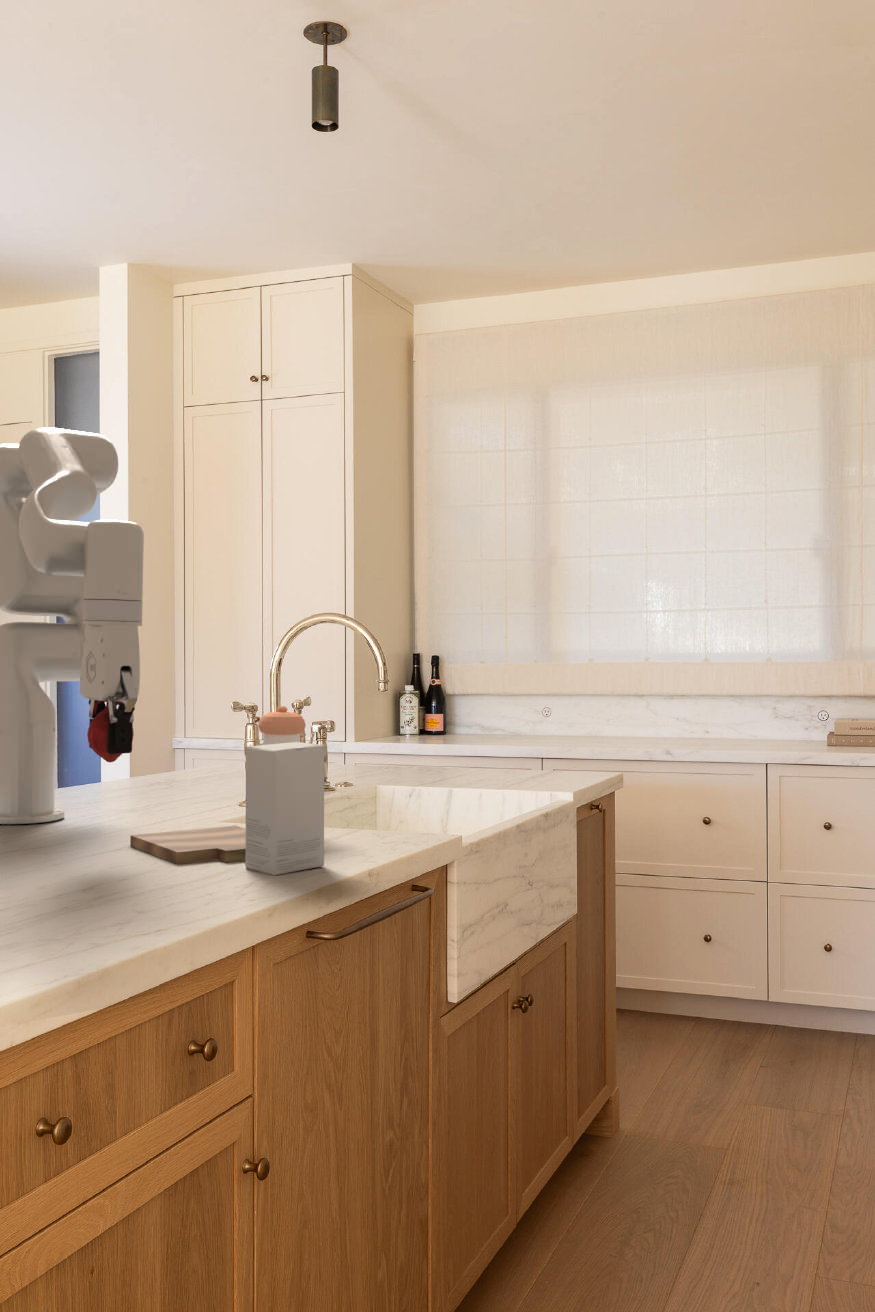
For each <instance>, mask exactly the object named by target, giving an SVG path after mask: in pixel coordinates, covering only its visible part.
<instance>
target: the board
mask: <svg viewBox="0 0 875 1312" xmlns="http://www.w3.org/2000/svg"><path fill="white" fill-rule="evenodd" d="M129 840H130V845H129V846H130V847H132V848H135V849H138V850H140V851H142V852H145V853H147V854H151V855H153V856H155V857H158V858H161V859H163V860H166V861H168V862H172V863H173V864H177V865H182V864H190V863H197V862H198V863H199V862H207V861H208V862H209V861H220V862H223V863H234V862H241V861H246V827H242V826H238V825H227V826H216V827H207V828H205V827H204V828H197V829H194V828H193V829H184V830H182V829H181V830H175V831H174V830H173V831H165V832H163V831H162V832H161V831H160V832H152V833H139V834H130V839H129Z"/></svg>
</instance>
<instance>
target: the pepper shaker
mask: <svg viewBox="0 0 875 1312" xmlns="http://www.w3.org/2000/svg"><path fill="white" fill-rule="evenodd" d="M257 726H258V730H259V732H260V733H262V734H263V744H262V745H270V744H280V743H291V742H301V733H304V732H305V729H306V726H307V725H306V721H305V719H304V718H303V716H302V715H300V714H298V713H297V712H293V711H291V712H290V711H288V708H287V706H284V705H283V706H282V705H281V706H277V708H276V711H273V712H271V711H270V712H267V713H265V714H263V715H261V717H260V718H259V720H258V725H257Z"/></svg>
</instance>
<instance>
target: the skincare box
mask: <svg viewBox="0 0 875 1312" xmlns="http://www.w3.org/2000/svg"><path fill="white" fill-rule="evenodd" d="M325 749H326V745H325V744H319V743H318V744H317V743H309V742H301V741H300V742H291V743H280V744H270V745H263V744H261V745H258V744H257V745H247V746H245V828H246V860H244V861H245V865H244V867H245V869H247V870H251V871H254V872H259V873H262V874H266V875H270V876H278V875H284V874H289V873H293V872H299V871H305V870H309V869H314V868H322V867H325V753H326V752H325V751H326V750H325Z"/></svg>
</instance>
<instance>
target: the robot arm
mask: <svg viewBox="0 0 875 1312" xmlns="http://www.w3.org/2000/svg"><path fill="white" fill-rule="evenodd" d="M117 452H118V451H117V449H116V447H115V446H114V444H113V442H112V441H111V440H110V439H109V438H107V436H105V435H102V434H99V433H94V432H90V431H89V432H86V431H79V430H73V429H72V430H71V429H65V428H58V427H39V428H34V429H32V430H30V431H29V432H27V433H25V434H24V436H23V437H22V438H21V439H20V441H19V443H0V610H1V611H2V612H4V613H6V614H11V615H18V616H38V617H39V616H40V617H61V618H62V619H63V621H64V623H63V622H43V621H42V622H41V621H40V622H38V621H37V622H36V621H35V622H34V621H12V622H6V623H3V624H0V825H23V824H24V825H25V824H26V825H27V824H39V823H40V824H41V823H47V822H55V821H58V820H61V819H62V820H63V819H64V818H65V813H66V812H65V810H64V809H63V808H59V807H55V801H56V797H55V796H56V795H55V793H56V792H55V790H56V789H55V788H56V787H55V786H56V785H55V783H56V782H55V779H56V778H55V777H56V775H55V774H56V771H55V770H56V766H55V765H56V709H55V705H54V703H53V701H52V700H51V698H50V696H48V694H47V693H46V691H44V689H43V688H42V687H41V685H40V683H44V682H45V683H47V682H79V693H80V695H81V696H82V697H83V698H85V699H88V705H89V710H88V711H89V713H88V717H89V724H88V725H89V726H90V724H91V722H92V720H93V719H94V718H95V717H96V716H97V715H98V714H99V713H100V712H101V711H103V710H104V709H105V708H106V707H107V705H109V714H110V722H111V723H107V753H109V754H121V753H123V754H131V753H132V751H133V741H132V730H133V731H134V728H133V727H134V726H133V725H134V724H133V723H134V720H135V716H134V711H135V710H136V708H135V706H136V703H137V701H138V698H139V695H140V683H141V681H140V680H141V677H140V676H141V661H140V660H141V659H140V656H141V654H140V653H141V652H140V638H139V627H142V626H143V594H144V593H143V592H144V591H143V588H144V583H143V582H144V553H145V552H144V549H145V548H144V547H145V545H144V544H145V543H144V542H145V538H144V537H145V536H144V535H145V534H144V530H143V528H142V527H141V526H140V525H139V524H138V523H136V522H135V521H134V522H133V521H128V520H121V519H120V520H118V519H96V520H93V521H76V520H78V519H79V518H83V516H85V515H86V514H88V513H89V512H90V511H91V510H92V508H93V507H94V505H95V503H96V501H97V496H98V495H100V494H101V493H103V492H105V491H106V490H107V489H109V488H110V487H111V486H112V485H113V484H114V482H115V480H116V478H117V475H118V471H119V457H118V453H117ZM23 499H25V500H23ZM116 705H117V711H116ZM89 726H88V727H89ZM88 747H89V748H90V749H91V750H93V749H92V748H91V746H90V744H89V743H88Z"/></svg>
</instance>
